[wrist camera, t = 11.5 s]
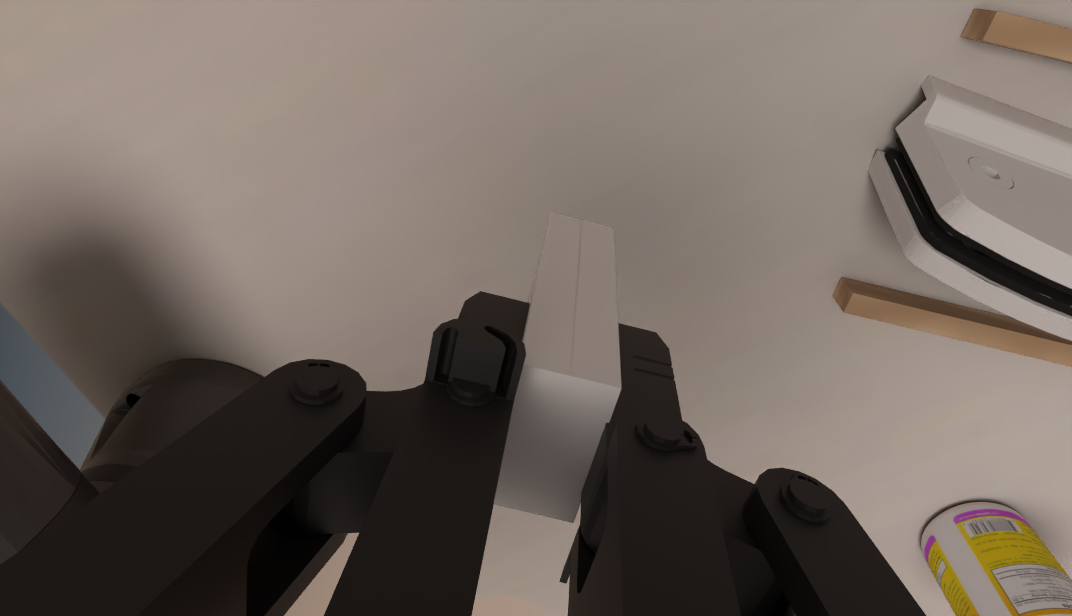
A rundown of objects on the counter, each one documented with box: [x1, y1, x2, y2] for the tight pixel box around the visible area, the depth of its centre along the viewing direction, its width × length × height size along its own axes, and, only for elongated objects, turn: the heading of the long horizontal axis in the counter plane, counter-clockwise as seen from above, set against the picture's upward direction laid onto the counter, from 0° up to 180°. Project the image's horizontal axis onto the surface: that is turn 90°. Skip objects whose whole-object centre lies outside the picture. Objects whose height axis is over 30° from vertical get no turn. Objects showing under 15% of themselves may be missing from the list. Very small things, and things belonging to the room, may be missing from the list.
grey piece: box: [868, 76, 1072, 341], centre depth 30 cm, size 17×5×10 cm, turn 72°
